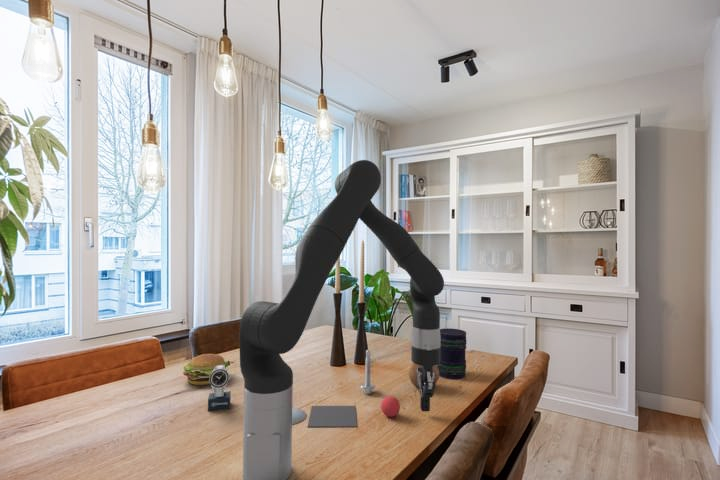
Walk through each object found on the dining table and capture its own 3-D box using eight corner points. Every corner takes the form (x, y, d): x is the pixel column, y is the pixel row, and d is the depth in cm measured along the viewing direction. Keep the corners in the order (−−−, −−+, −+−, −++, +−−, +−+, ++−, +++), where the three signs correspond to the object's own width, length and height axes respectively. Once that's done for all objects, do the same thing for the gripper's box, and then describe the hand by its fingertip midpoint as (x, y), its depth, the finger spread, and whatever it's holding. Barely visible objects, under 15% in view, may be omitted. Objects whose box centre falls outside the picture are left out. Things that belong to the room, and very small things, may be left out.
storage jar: (472, 377, 132) (472, 333, 132) (447, 381, 128) (448, 335, 129) (454, 368, 141) (455, 327, 141) (431, 371, 138) (431, 329, 138)
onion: (411, 395, 123) (398, 365, 126) (434, 383, 128) (421, 354, 130) (426, 395, 115) (412, 362, 117) (450, 382, 119) (436, 350, 122)
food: (173, 386, 121) (173, 360, 121) (198, 371, 135) (198, 348, 135) (214, 389, 119) (215, 363, 119) (235, 374, 133) (236, 350, 133)
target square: (356, 427, 96) (356, 426, 96) (307, 427, 95) (307, 426, 95) (355, 406, 108) (355, 405, 108) (311, 406, 107) (311, 405, 107)
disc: (303, 425, 96) (303, 424, 96) (263, 425, 96) (263, 424, 96) (307, 408, 106) (307, 407, 106) (270, 408, 106) (270, 407, 106)
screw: (356, 393, 117) (364, 388, 121) (370, 396, 114) (378, 391, 119) (357, 350, 117) (365, 346, 121) (371, 352, 114) (379, 348, 119)
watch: (207, 414, 101) (207, 372, 102) (210, 402, 109) (210, 362, 109) (229, 412, 103) (230, 370, 103) (231, 400, 111) (231, 361, 111)
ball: (401, 420, 100) (401, 400, 100) (381, 420, 99) (382, 400, 99) (398, 411, 105) (398, 393, 105) (379, 411, 104) (380, 393, 104)
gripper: (407, 337, 109) (406, 400, 109) (416, 351, 96) (415, 421, 96) (434, 338, 109) (433, 400, 109) (446, 351, 96) (445, 421, 96)
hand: (425, 410), depth 102 cm, fingers closed
